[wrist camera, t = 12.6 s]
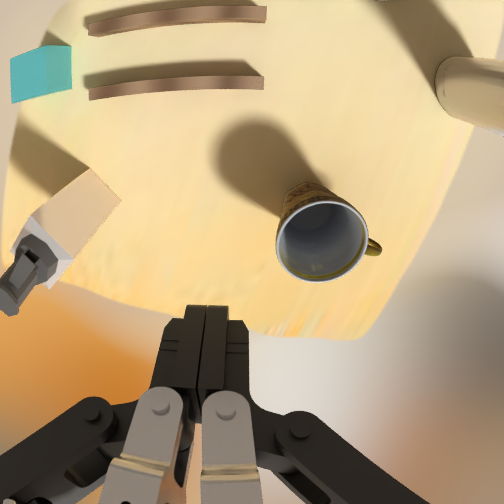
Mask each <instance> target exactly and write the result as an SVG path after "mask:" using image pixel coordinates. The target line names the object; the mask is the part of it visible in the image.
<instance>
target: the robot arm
mask: <svg viewBox="0 0 504 504" xmlns="http://www.w3.org/2000/svg"><path fill="white" fill-rule="evenodd" d="M435 88H436V94H437V97H438V100H439V102H440V104H441V106H442V107H443V108H444V110H445V111H446V112H447V113H448V114H449V115H451V116H453V117H454V118H457V119H460V120H463V121H466V122H468V123H471V124H473V125H476V126H479V127H481V128H484V129H486V130H489V131H491V132H494V133H496V134H499V135H501V136H503V137H504V61H502V60H494V59H484V58H473V57H456V56H455V57H450V58H447V59H445V60H444V61H443V62H442V63H441V65H440V66H439V68H438V70H437V73H436V78H435ZM195 423H201V424H202V472H201V504H263V499H262V491H261V483H260V477H259V473H258V470H257V466H258V467H261V468H265V469H268V470H271V471H272V472H273V474H275V475H276V476H277V477H278V478H279V479H280V480H281V481H282V482H283V483H284V484H285V485H286V486H287V487H288V488H289V489H290V490H291V491H292V492H293V493H295V494H296V495H297V496H298V497H299V498H300V499H301V500H302V501H303V502H305V503H306V504H430V503H428V502H427V501H425V500H424V499H422V498H421V497H420V496H418V495H417V494H415V493H414V492H412V491H411V490H409V489H408V488H407V487H405V486H404V485H403V484H401V483H400V482H398V481H397V480H396V479H394V478H393V477H392V476H390V475H389V474H387V473H386V472H385V471H384V470H382V469H381V468H380V467H378V466H377V465H376V464H374V463H373V462H372V461H370V460H369V459H368V458H367V457H365V456H364V455H363V454H362V453H360V452H359V451H358V450H357V449H355V448H354V447H353V446H352V445H350V444H349V443H348V442H347V441H345V440H344V439H343V438H342V437H341V436H339V435H338V434H337V433H336V432H334V431H333V430H332V429H331V428H330V427H328V426H327V425H326V424H325V423H323V421H321V420H320V419H319V418H318V417H317V416H315V415H314V414H311V413H309V412H305V411H294V412H290V413H288V414H286V415H284V416H283V415H280V414H276V413H272V412H269V411H266V410H264V409H262V408H260V407H259V406H258V405H257V404H255V402H254V401H253V400H252V398H251V395H250V391H249V331H248V329H247V327H246V325H245V324H244V322H243V320H229V307H228V306H217V305H208V307H207V305H187V306H186V310H185V315H184V319H181V318H172V320H171V321H170V322H169V323H168V324H167V325H166V327H165V328H164V331H163V335H162V341H161V343H160V347H159V351H158V355H157V359H156V363H155V368H154V372H153V376H152V380H151V384H150V387H149V389H148V390H147V391H146V392H144V393H143V394H142V395H141V397H140V398H139V399H138V400H136V401H133V402H130V403H124V404H117V405H110V404H109V403H108V402H107V401H106V400H105V399H103V398H100V397H87V398H85V399H83V400H81V401H80V402H78V403H77V404H75V405H74V406H72V407H71V408H70V409H68V410H67V411H65V412H64V413H62V414H61V415H60V416H58V417H57V418H55V419H54V420H52V421H51V422H49V423H48V424H46V425H45V426H44V427H42V428H41V429H39V430H38V431H36V432H35V433H33V434H32V435H30V436H29V437H27V438H26V439H25V440H23V441H22V442H20V443H19V444H17V445H16V446H14V447H13V448H11V449H10V450H8V451H7V452H5V453H4V454H2V455H1V456H0V504H75V503H77V502H78V501H80V500H81V499H83V498H84V497H86V496H87V495H88V494H90V493H91V492H92V491H94V490H95V489H97V488H98V487H99V486H101V485H102V484H103V483H104V485H103V488H102V492H101V496H100V500H99V503H98V504H186V485H187V479H188V473H189V467H190V461H191V456H192V451H193V445H194V431H195Z"/></svg>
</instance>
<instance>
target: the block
mask: <svg viewBox="0 0 504 504" xmlns="http://www.w3.org/2000/svg"><path fill="white" fill-rule="evenodd" d="M10 72H11V97H12V103H17V102H20V101H24V100H28V99H32V98H36V97H40V96H44V95H48V94H51V93H55V92H60V91H64V90H68V89H72V75H71V46H56V45H45V46H43V47H40V48H37V49H34V50H32V51H29V52H26V53H24V54H21V55H18V56H16V57H14V58H11V59H10Z"/></svg>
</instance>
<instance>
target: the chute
mask: <svg viewBox="0 0 504 504" xmlns="http://www.w3.org/2000/svg"><path fill="white" fill-rule="evenodd" d="M266 12H267V6H200V7H186V8H175V9H166V10H158V11H151V12H144V13H138V14H132V15H127V16H121V17H117V18H112V19H107V20H103V21H99V22H95V23H91V24H89V27H88V35H90V36H96V37H102V36H106V35H111V34H116V33H122V32H127V31H133V30H139V29H146V28H153V27H161V26H171V25H181V24H195V23H219V22H248V23H265V21H266ZM198 89H258V90H264V76H194V77H176V78H163V79H152V80H143V81H134V82H127V83H120V84H113V85H107V86H101V87H95V88H89V101H90V100H96V99H103V98H109V97H116V96H124V95H132V94H141V93H151V92H163V91H177V90H198Z"/></svg>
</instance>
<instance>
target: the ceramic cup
mask: <svg viewBox="0 0 504 504" xmlns="http://www.w3.org/2000/svg"><path fill="white" fill-rule="evenodd" d="M369 244H370V245H369ZM371 245H372V246H371ZM381 252H382V247H381V246H380V245H379V244H378V243H377V242H375V241H374V240H372V239H370V238H368V229H367V225H366V222H365V220H364V218H363V217H362V215H361V214H360V213H359V212H358V211H357V210H356V209H355V208H354V207H353V206H352V205H351V204H349V203H348V202H347V201H345V200H344V199H342V198H340V197H338V196H337V195H336V194H334V193H333V192H331V191H330V190H328V189H327V188H325V187H322V186H318V185H314V184H310V183H306V182H305V183H303V184H301V185H299V186H297V187H296V188H294V189H292V190H290V191H289V192H287V194H286V197H285V200H284V204H283V207H282V211H281V218H280V222H279V225H278V229H277V235H276V254H277V257H278V260H279V262H280V264H281V265H282V267H283V268H284V269H285V270H286V271H287V272H288V273H289V274H290V275H292V276H293V277H295V278H297V279H299V280H302V281H305V282H311V283H323V282H329V281H332V280H335V279H338V278H340V277H342V276H344V275H346V274H347V273H349V272H350V271H351V270H352V269H353V268H354V267H356V265H357V264H358V263H359V262H360V260H361V259H362V257H363V256H364V254H366V255H369V256H378V255H380V254H381Z"/></svg>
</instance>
